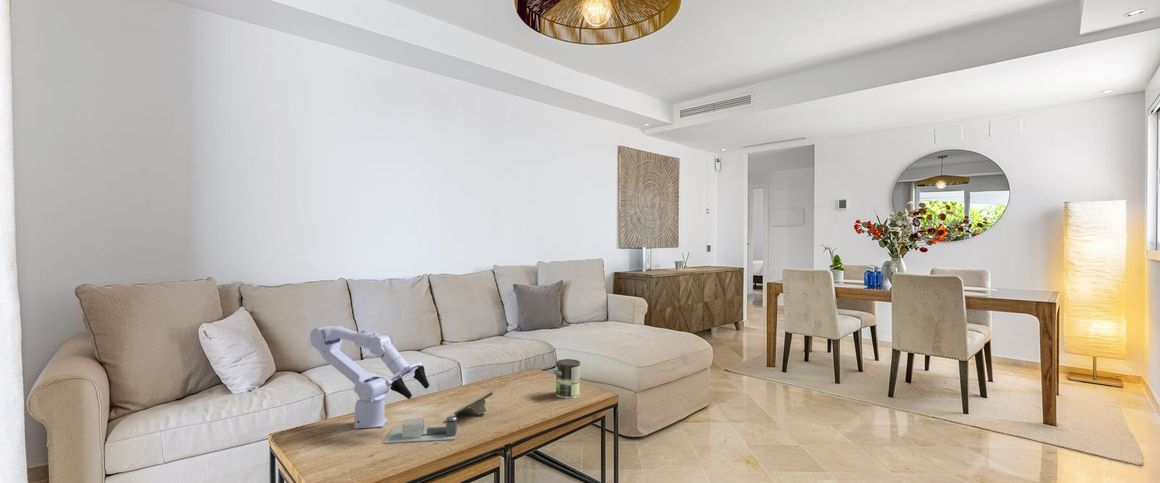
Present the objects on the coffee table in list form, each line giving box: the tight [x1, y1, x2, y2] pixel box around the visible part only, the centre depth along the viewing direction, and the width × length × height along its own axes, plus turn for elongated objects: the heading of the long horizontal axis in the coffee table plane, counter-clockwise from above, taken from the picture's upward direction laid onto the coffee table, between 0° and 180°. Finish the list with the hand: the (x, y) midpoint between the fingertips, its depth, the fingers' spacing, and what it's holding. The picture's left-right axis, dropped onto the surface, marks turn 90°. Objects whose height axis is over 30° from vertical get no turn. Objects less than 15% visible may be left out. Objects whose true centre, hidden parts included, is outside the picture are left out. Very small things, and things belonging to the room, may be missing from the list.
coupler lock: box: [401, 418, 425, 439], centre depth 161 cm, size 6×5×4 cm
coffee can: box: [555, 358, 581, 399], centre depth 207 cm, size 10×10×14 cm
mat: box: [384, 424, 459, 445], centre depth 163 cm, size 22×12×1 cm, turn 99°
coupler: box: [427, 415, 458, 436], centre depth 163 cm, size 10×5×5 cm, turn 99°
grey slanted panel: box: [448, 390, 495, 417], centre depth 182 cm, size 16×9×15 cm
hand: (419, 392), depth 165 cm, fingers open, 7 cm apart
